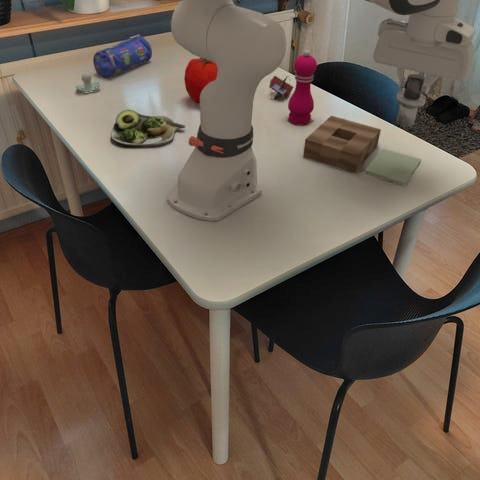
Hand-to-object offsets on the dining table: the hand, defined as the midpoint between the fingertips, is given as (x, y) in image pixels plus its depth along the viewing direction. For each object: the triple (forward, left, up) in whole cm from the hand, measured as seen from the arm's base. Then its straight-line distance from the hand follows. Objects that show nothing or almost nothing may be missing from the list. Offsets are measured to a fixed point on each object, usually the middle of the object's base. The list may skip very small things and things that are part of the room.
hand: (413, 90), depth 112 cm
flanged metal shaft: (0, 0, -8) cm, 8 cm away
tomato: (+5, +60, -20) cm, 64 cm away
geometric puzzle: (+21, +43, -20) cm, 52 cm away
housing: (0, +14, -20) cm, 25 cm away
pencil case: (+11, +97, -21) cm, 100 cm away
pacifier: (-9, +95, -21) cm, 97 cm away
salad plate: (-21, +63, -21) cm, 70 cm away
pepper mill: (+10, +31, -20) cm, 38 cm away
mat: (0, 0, -20) cm, 20 cm away
